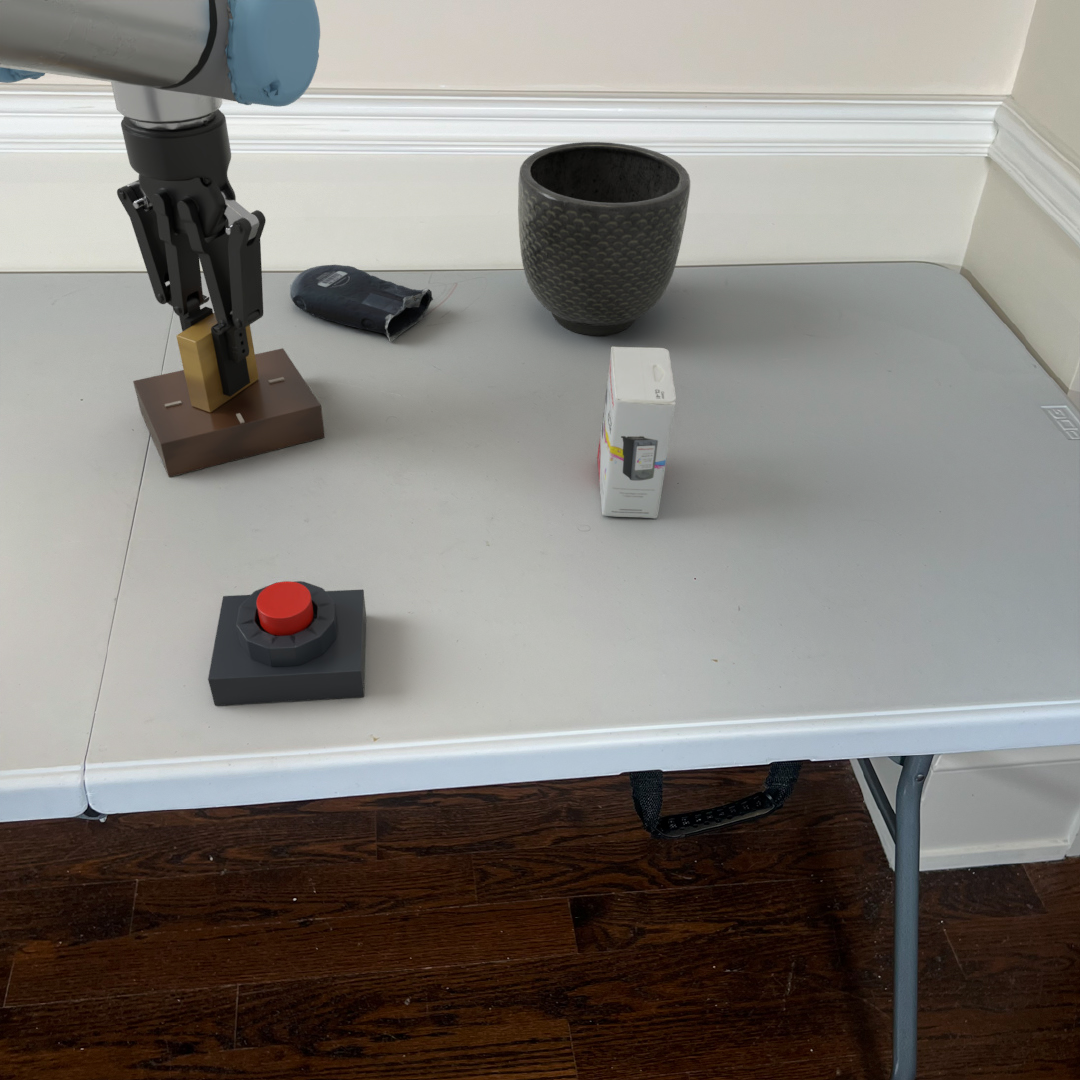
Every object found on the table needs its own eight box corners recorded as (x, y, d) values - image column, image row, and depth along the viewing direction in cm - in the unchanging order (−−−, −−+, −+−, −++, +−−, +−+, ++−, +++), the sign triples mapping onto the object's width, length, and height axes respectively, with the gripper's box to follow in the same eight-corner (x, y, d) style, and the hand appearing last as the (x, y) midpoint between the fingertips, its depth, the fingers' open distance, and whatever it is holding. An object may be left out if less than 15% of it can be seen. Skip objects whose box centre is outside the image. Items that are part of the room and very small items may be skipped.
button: (257, 637, 69) (253, 619, 68) (262, 600, 72) (259, 582, 71) (312, 635, 69) (309, 616, 68) (315, 598, 72) (312, 579, 71)
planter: (531, 362, 105) (537, 210, 95) (502, 284, 118) (505, 143, 108) (692, 350, 108) (715, 202, 98) (647, 276, 121) (663, 138, 111)
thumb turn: (210, 413, 90) (195, 339, 85) (191, 405, 91) (175, 332, 86) (259, 379, 94) (247, 307, 90) (240, 372, 95) (227, 301, 90)
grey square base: (214, 706, 70) (202, 660, 67) (228, 622, 76) (218, 577, 73) (364, 697, 71) (358, 652, 68) (366, 615, 77) (361, 570, 74)
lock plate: (168, 477, 89) (160, 442, 86) (141, 413, 96) (132, 379, 94) (325, 437, 94) (321, 403, 92) (287, 379, 101) (282, 346, 99)
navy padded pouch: (437, 319, 114) (326, 269, 118) (437, 278, 110) (322, 227, 113) (388, 366, 109) (274, 311, 112) (387, 324, 104) (268, 269, 108)
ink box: (596, 458, 93) (606, 342, 85) (652, 460, 93) (667, 344, 85) (600, 519, 86) (612, 400, 79) (660, 521, 86) (678, 402, 79)
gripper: (286, 117, 77) (319, 388, 92) (131, 81, 82) (187, 343, 97) (218, 148, 72) (265, 429, 87) (57, 107, 77) (128, 379, 92)
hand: (223, 383), depth 92 cm, fingers closed on thumb turn, 2 cm apart
